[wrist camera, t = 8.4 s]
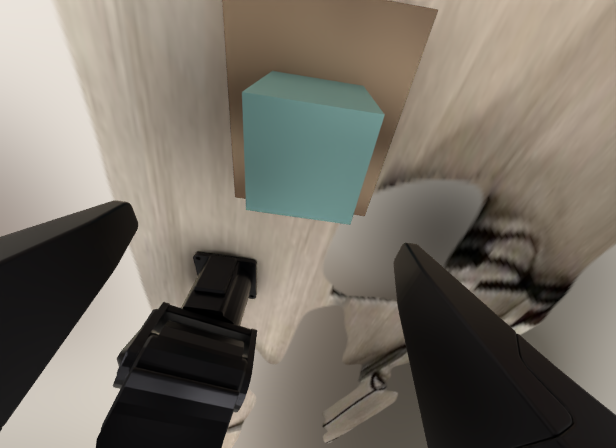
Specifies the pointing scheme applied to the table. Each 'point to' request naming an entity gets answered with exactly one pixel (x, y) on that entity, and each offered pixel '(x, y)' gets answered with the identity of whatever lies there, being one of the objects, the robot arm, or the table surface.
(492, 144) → the table surface
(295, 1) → the base plinth
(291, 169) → the teal block
